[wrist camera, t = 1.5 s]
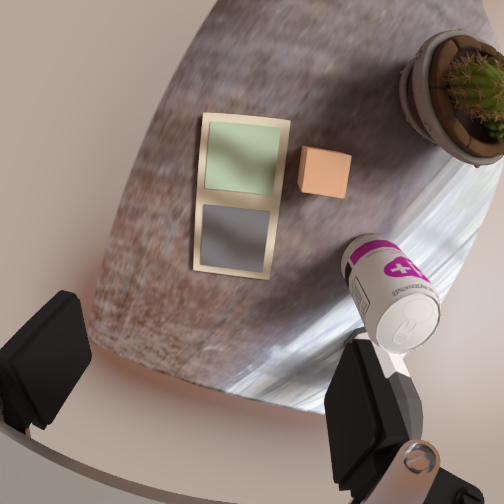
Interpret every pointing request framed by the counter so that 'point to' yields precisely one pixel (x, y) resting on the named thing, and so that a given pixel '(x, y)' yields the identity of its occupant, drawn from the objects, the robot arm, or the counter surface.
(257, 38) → the counter surface
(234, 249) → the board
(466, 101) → the flowerpot
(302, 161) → the block
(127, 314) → the counter surface
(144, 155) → the counter surface
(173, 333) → the counter surface
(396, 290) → the supplement can
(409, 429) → the wine bottle
